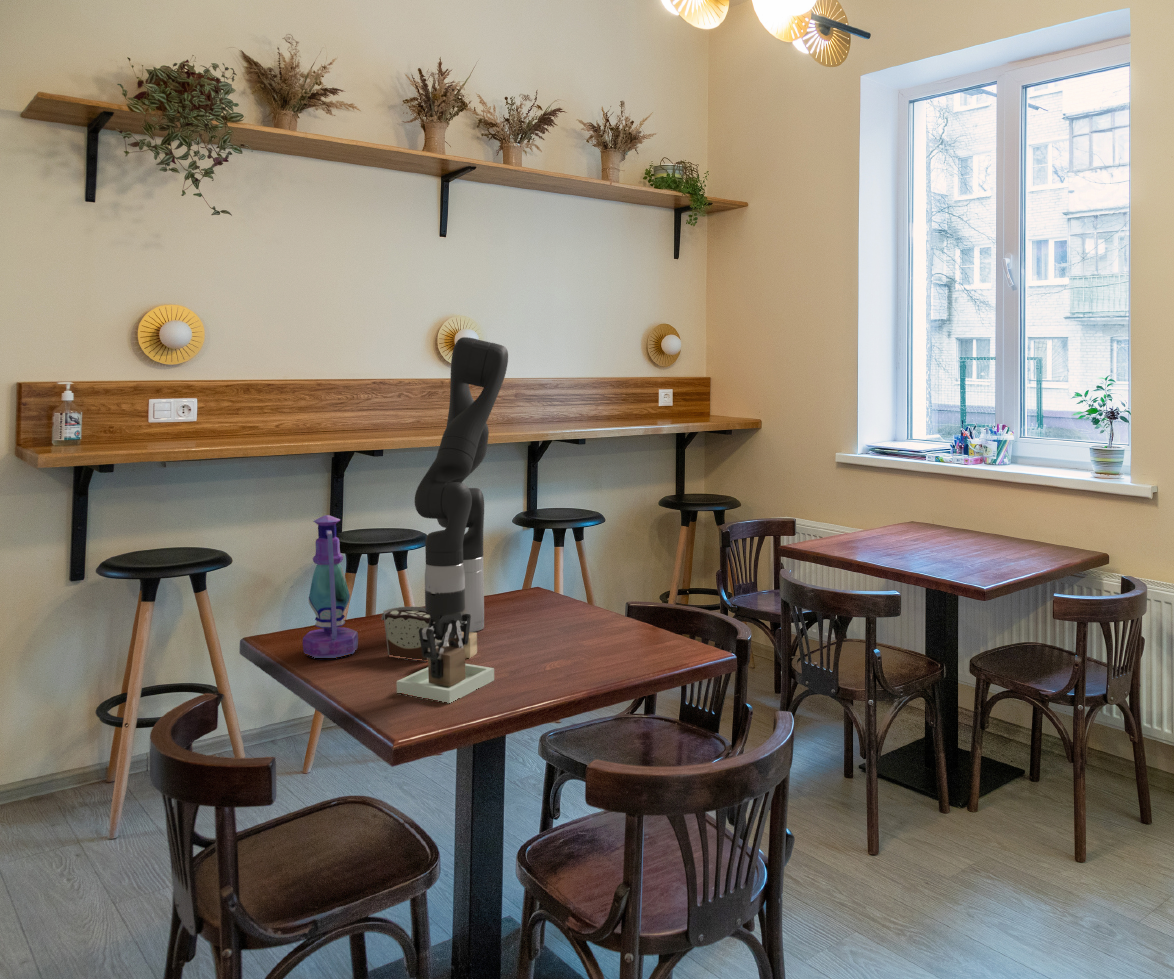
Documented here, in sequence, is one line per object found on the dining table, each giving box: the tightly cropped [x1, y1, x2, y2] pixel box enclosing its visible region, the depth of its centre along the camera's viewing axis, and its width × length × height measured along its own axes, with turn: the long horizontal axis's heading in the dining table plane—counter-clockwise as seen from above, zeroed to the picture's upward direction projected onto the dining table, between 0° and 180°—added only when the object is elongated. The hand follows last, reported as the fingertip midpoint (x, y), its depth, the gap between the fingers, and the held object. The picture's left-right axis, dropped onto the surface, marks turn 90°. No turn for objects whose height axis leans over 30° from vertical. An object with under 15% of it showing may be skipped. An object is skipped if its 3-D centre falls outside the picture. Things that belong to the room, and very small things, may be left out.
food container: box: [381, 606, 430, 660], centre depth 201 cm, size 12×6×10 cm, turn 71°
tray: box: [396, 663, 495, 704], centre depth 181 cm, size 12×15×2 cm
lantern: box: [302, 514, 359, 659], centre depth 201 cm, size 13×12×30 cm
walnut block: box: [427, 646, 466, 687], centre depth 181 cm, size 5×5×6 cm
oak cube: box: [454, 632, 478, 660], centre depth 202 cm, size 4×4×4 cm
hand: (446, 673), depth 181 cm, fingers open, 5 cm apart
